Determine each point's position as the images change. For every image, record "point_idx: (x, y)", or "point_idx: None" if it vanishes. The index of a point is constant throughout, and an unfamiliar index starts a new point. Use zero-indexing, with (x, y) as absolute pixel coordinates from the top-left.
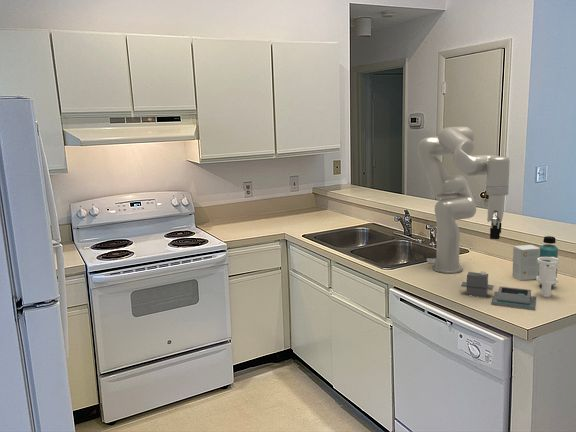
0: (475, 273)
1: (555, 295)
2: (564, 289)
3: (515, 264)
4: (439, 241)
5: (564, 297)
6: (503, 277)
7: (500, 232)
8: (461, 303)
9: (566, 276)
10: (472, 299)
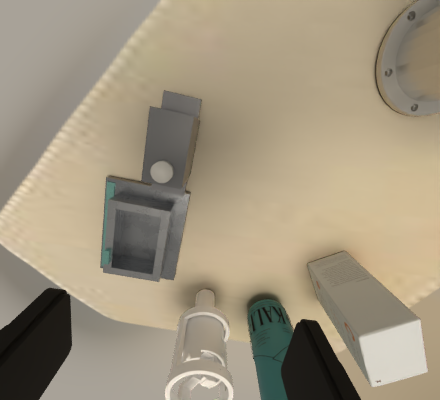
0: (176, 143)
1: None
2: None
3: (353, 277)
4: None
5: None
6: (332, 228)
7: (282, 376)
8: (92, 93)
9: (338, 349)
10: (135, 128)
